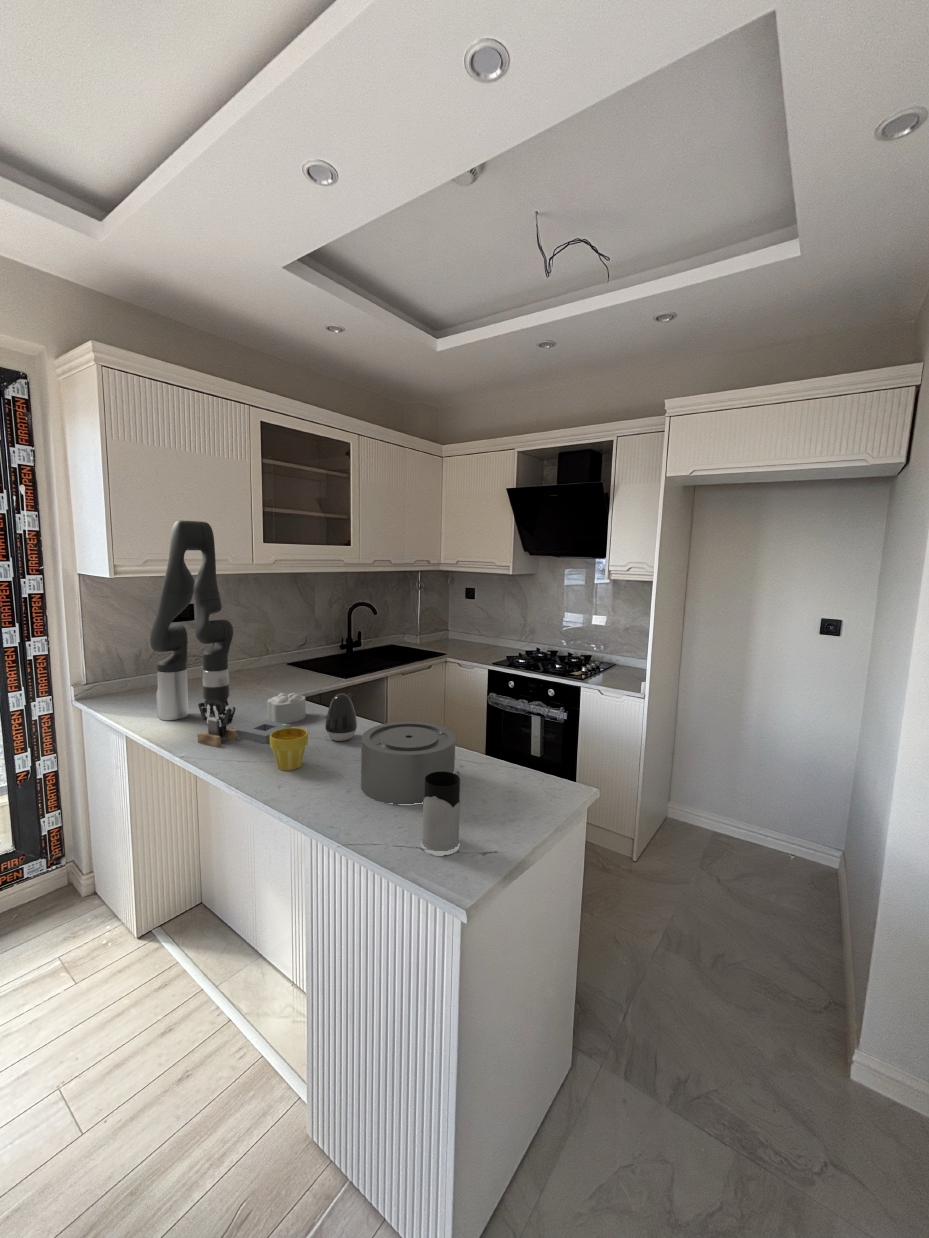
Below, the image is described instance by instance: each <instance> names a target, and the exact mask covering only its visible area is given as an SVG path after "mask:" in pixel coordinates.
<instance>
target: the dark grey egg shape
mask: <svg viewBox="0 0 929 1238" xmlns="http://www.w3.org/2000/svg"><path fill="white" fill-rule="evenodd" d="M352 696H353V693H352V692H349V693H348V694H346V693H338V694H336V695H335V696H334V697H333V698H332V700H331V702H330V704H329V707H328V710H327V715H326V717H325V718H326V719H325V725H324V726H325V727H324V728H325V731H326V733H327V736H328V737H329V738H330V739H331V740H333V741H337V742H346V741H349V740H350V739H352V737H354V735H355V733H356V730H357V729H358V722H357V715H356V710H355V708H354V704H353V702H352V701H353V700H351V697H352Z"/></svg>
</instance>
